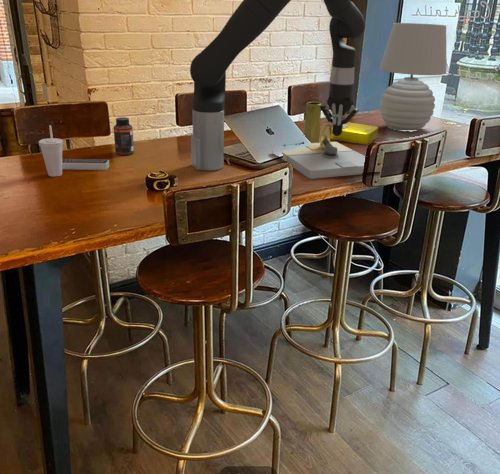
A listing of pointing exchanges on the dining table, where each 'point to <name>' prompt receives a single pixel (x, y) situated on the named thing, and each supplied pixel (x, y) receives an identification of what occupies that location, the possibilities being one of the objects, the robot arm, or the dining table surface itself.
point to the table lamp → (412, 73)
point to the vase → (312, 121)
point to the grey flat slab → (325, 161)
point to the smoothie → (52, 154)
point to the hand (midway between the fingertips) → (336, 135)
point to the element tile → (356, 133)
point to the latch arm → (327, 140)
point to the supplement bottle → (123, 137)
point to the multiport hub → (85, 164)
